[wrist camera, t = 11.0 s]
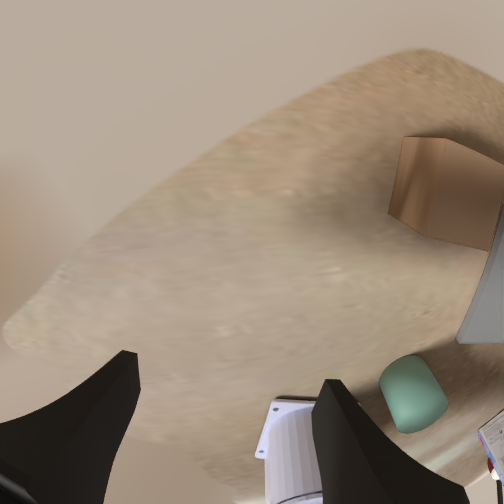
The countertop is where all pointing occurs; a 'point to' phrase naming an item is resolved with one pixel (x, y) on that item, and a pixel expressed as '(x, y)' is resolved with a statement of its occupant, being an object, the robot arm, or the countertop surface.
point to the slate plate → (488, 299)
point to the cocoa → (499, 483)
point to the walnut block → (447, 191)
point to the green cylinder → (412, 394)
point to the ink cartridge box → (494, 443)
